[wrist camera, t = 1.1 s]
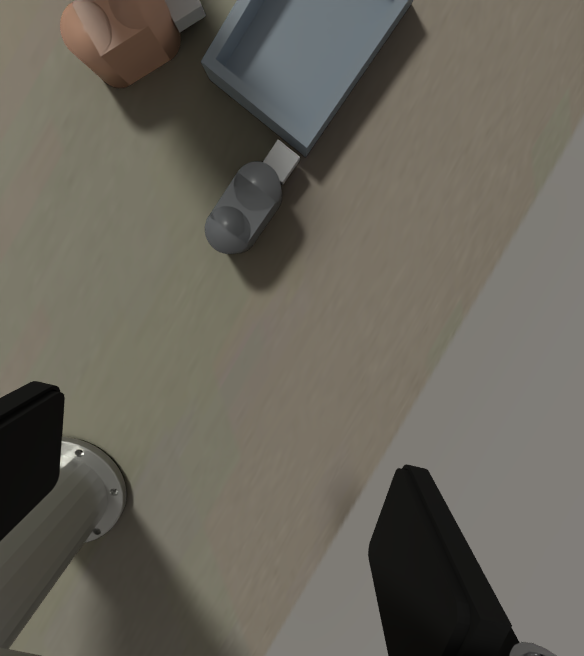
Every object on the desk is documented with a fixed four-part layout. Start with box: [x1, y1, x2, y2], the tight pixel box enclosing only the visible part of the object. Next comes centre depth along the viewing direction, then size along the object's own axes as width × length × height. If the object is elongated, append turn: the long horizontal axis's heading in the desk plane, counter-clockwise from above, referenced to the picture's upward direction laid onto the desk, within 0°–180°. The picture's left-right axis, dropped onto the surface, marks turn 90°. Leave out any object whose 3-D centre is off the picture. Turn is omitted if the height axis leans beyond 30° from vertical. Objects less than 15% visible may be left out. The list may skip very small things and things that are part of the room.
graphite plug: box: [205, 140, 300, 254], centre depth 28 cm, size 10×4×4 cm, turn 144°
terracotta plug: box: [60, 0, 206, 88], centre depth 26 cm, size 10×4×4 cm, turn 117°
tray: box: [201, 0, 413, 157], centre depth 26 cm, size 14×10×3 cm
